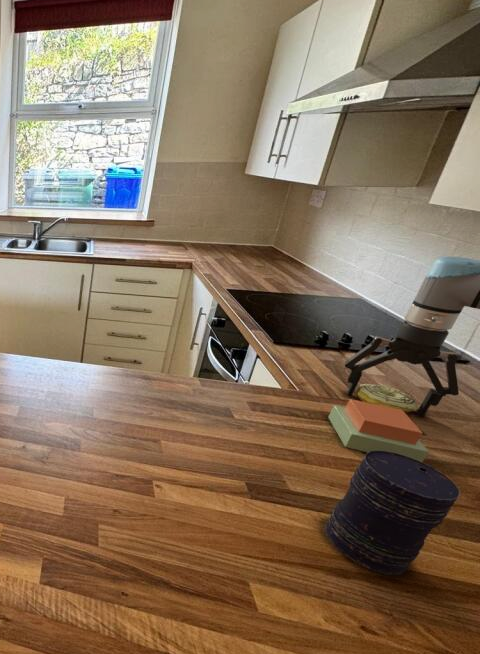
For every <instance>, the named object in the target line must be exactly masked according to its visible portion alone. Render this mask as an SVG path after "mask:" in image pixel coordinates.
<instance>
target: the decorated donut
mask: <svg viewBox="0 0 480 654" xmlns="http://www.w3.org/2000/svg"><path fill="white" fill-rule="evenodd" d="M356 393H357V394H356V395H357V398H358V399H359V401H362V402H367V403H371V404H376V405H381V406H386V407H391V408H395V409H400V410H403V411H404V413H405V414H407V413H411V412H417V411H418V409H419V407H418V403H417V401H416V400H415V399H414V398H413V397H412V396H410V395H409V394H407V392H404V391H402V390H400V389H398V388H394V387H390V386H386V385H384V384H383V385H382V384H374V383H361V384H360V385H359V387H358V388H357V390H356Z"/></svg>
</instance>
